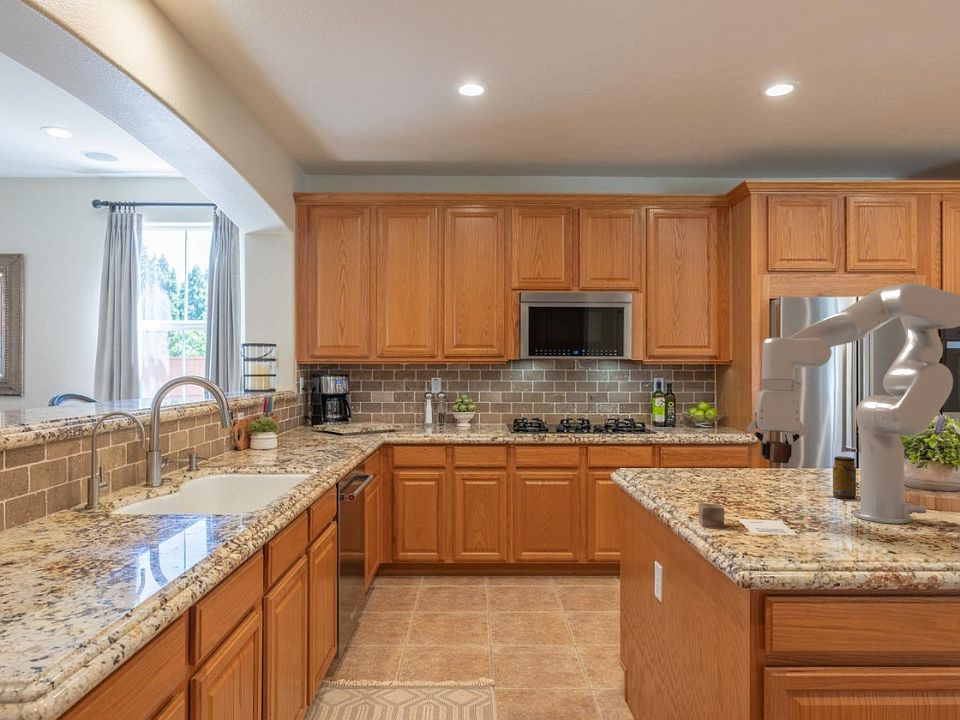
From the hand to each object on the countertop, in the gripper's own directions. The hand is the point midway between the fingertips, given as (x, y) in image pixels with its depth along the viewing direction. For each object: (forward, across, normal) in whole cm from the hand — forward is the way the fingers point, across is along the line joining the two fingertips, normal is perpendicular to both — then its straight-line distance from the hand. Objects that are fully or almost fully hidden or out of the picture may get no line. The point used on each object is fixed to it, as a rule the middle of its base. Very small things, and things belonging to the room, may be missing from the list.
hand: (776, 458), depth 160 cm
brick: (+1, 0, 0) cm, 1 cm away
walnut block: (+17, +16, +7) cm, 24 cm away
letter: (+16, +3, +6) cm, 18 cm away
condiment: (+15, -28, -36) cm, 48 cm away
